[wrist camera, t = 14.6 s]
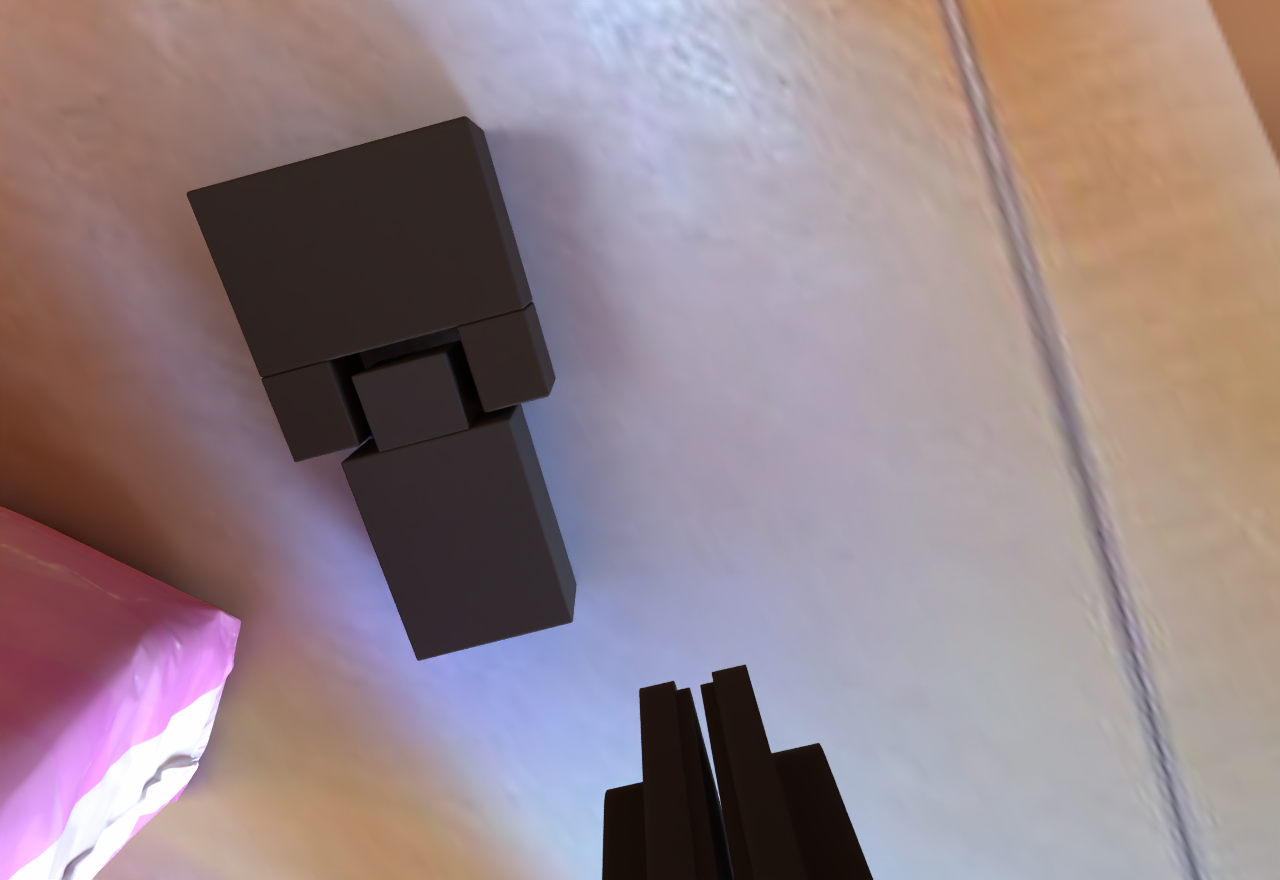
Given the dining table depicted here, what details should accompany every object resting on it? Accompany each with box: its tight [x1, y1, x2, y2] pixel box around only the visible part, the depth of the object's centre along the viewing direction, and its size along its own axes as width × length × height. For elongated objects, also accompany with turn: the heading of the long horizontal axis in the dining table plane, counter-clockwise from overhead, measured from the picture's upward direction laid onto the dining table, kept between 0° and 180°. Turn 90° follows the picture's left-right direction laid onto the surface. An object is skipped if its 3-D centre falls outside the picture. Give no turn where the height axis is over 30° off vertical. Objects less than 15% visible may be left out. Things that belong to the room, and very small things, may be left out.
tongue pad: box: [341, 340, 576, 661], centre depth 27 cm, size 6×11×3 cm, turn 14°
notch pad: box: [187, 116, 555, 462], centre depth 25 cm, size 9×9×3 cm
